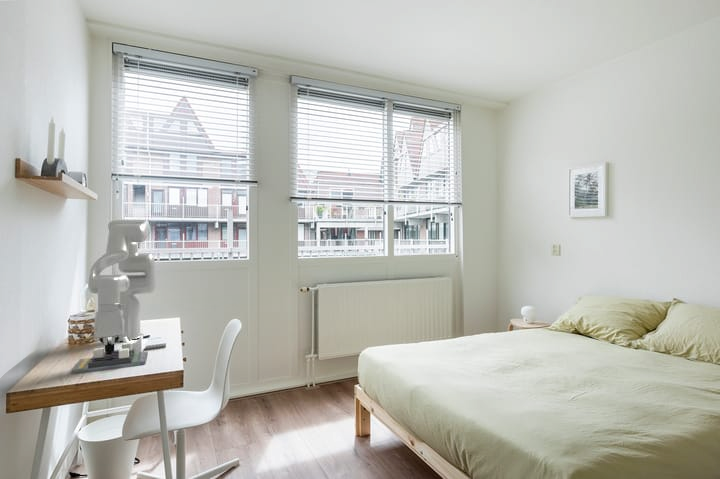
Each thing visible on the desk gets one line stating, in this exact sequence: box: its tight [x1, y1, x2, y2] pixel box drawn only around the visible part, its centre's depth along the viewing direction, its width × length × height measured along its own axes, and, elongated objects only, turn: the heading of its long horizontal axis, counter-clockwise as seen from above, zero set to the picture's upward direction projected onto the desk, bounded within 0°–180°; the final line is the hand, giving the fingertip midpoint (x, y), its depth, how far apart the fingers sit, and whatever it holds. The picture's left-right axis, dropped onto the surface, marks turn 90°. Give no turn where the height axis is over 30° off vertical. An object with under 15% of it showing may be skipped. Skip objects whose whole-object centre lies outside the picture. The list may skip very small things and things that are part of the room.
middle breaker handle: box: [93, 347, 105, 358], centre depth 156 cm, size 3×3×5 cm
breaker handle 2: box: [118, 348, 129, 359], centre depth 155 cm, size 3×3×5 cm
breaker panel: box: [71, 349, 149, 374], centre depth 157 cm, size 15×24×3 cm, turn 115°
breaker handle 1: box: [121, 342, 132, 351], centre depth 164 cm, size 3×3×5 cm
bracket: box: [122, 335, 149, 353], centre depth 176 cm, size 13×7×8 cm, turn 17°
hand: (109, 353), depth 157 cm, fingers closed
